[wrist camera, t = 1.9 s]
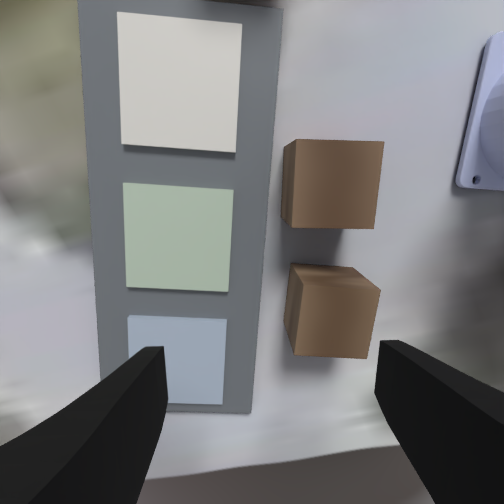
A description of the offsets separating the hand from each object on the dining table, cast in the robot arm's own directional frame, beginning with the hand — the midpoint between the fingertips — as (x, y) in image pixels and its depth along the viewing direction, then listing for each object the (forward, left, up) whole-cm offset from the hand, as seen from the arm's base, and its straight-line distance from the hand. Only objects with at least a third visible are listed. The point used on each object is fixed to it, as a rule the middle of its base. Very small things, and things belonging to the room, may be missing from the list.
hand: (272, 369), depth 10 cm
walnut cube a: (-3, -6, -10) cm, 12 cm away
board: (+5, -2, -9) cm, 11 cm away
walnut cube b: (-4, +1, -10) cm, 10 cm away
